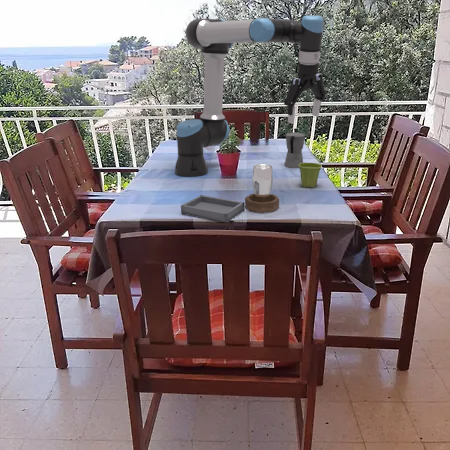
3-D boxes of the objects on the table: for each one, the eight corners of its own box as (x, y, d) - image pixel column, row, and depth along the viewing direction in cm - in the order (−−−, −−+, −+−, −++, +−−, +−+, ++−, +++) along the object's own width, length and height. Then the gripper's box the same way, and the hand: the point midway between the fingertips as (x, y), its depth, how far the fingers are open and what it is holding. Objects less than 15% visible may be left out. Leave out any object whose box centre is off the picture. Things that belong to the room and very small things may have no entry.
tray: (181, 213, 150) (180, 205, 149) (201, 202, 160) (201, 195, 159) (226, 222, 142) (226, 214, 141) (244, 210, 152) (244, 202, 151)
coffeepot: (287, 162, 216) (288, 125, 210) (305, 163, 213) (308, 126, 207) (280, 169, 203) (281, 131, 196) (300, 171, 200) (302, 132, 193)
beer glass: (270, 211, 151) (271, 169, 146) (250, 209, 153) (251, 168, 147) (272, 204, 158) (273, 164, 152) (253, 203, 159) (254, 163, 153)
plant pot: (307, 181, 185) (308, 161, 182) (325, 185, 178) (326, 165, 175) (292, 185, 179) (293, 165, 176) (310, 190, 173) (312, 169, 170)
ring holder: (240, 209, 153) (240, 200, 152) (254, 200, 162) (254, 191, 161) (269, 214, 148) (270, 205, 147) (282, 204, 157) (282, 195, 156)
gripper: (291, 69, 149) (287, 128, 161) (339, 60, 162) (332, 115, 173) (276, 65, 154) (273, 123, 166) (324, 56, 167) (318, 110, 178)
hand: (303, 119), depth 170 cm, fingers open, 13 cm apart
